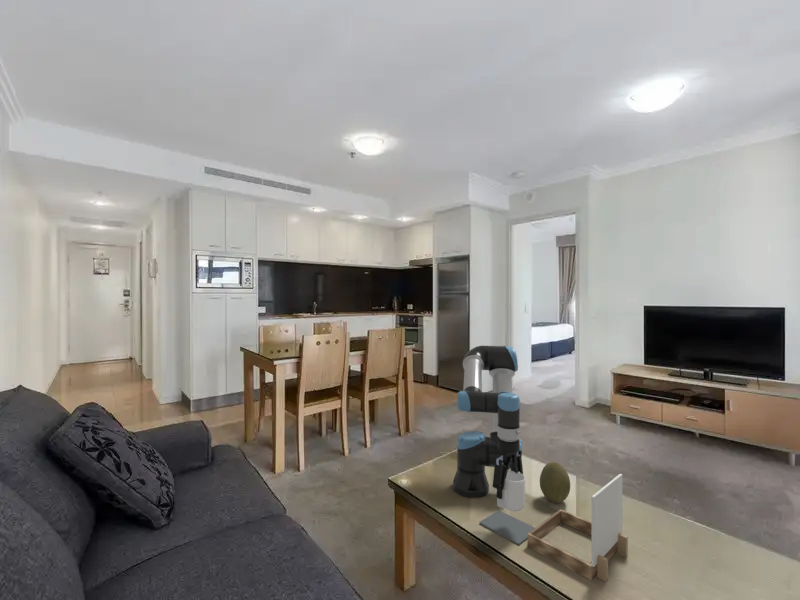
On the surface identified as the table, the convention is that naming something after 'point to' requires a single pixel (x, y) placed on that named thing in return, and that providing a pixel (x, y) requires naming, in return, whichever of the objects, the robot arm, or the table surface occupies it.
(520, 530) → the mat
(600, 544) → the lid
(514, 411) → the robot arm
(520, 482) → the cup
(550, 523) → the frame
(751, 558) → the table surface
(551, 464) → the fruit
